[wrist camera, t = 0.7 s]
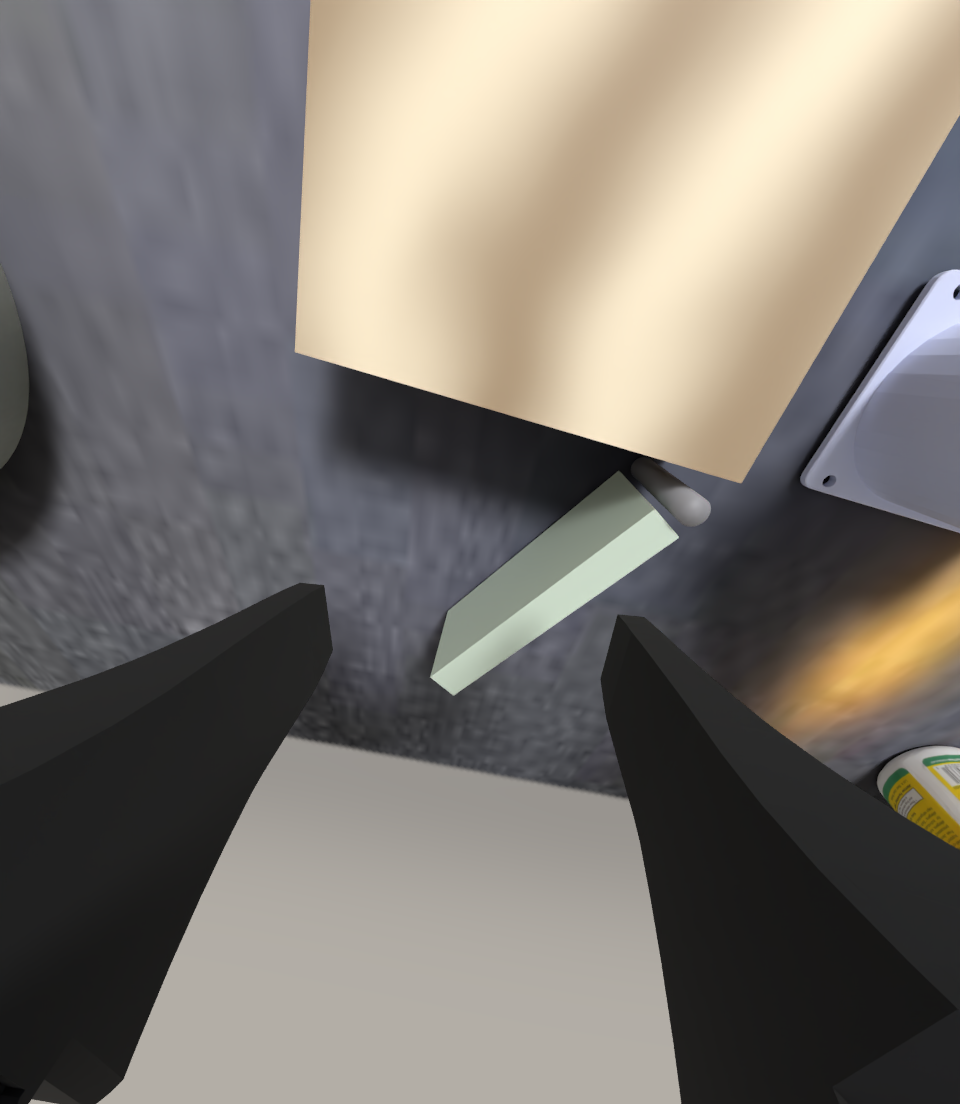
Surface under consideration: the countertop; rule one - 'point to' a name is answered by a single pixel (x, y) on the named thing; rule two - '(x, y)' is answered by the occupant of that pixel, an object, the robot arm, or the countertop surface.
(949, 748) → the supplement bottle
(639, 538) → the door
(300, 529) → the countertop surface
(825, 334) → the cabinet
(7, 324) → the cake pan
